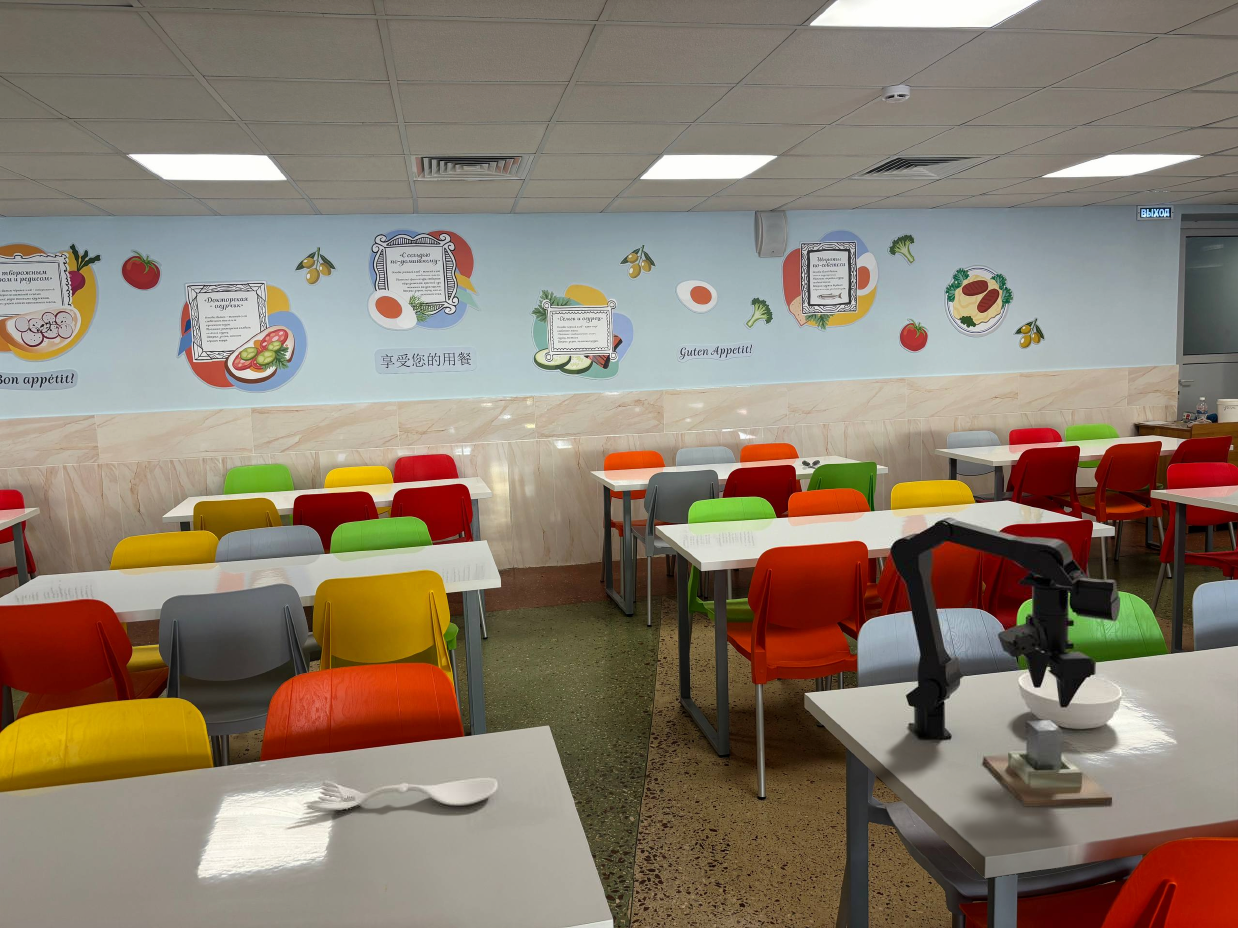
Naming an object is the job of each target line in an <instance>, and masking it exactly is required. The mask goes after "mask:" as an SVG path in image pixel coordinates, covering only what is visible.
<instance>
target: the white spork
mask: <svg viewBox="0 0 1238 928" xmlns="http://www.w3.org/2000/svg"><path fill="white" fill-rule="evenodd" d="M321 785H322V786H323V787H321V790H322V791H320V792H319V793H320V794H321V795H322V796H318V797H317V798H318V800H314V801H313V802H311V804H307V805H306V808H307V809H308V810H310V811H343V809H346V810H349V809H348V808H350V807H353V806H355V805H358V804H360V805H362V804H363V803H365V802H367V801H369V800H370V799H373V798H374V797H377V796H380V795H382V794H387V793H398V794H400V795H401V794H404V793H405V794H406V793H407V792H418V793H421V794H425V795H426V796H427V797H429V798H431V799H433V800H434V801H436V802H438V803H441V804H444V805H447V806H467V805H473V804H475V803H478V802H481V801H483V800H486V799H488V798H489V797H491V796H493V794H495V792H497V789H498V785H499V784H498V781H497V780H496V778H495V779H494V778H492V777H477V778H469V779H461V780H456V781H455V780H454V781H449V782H444V783H439V784H433V785H423V784H421V785H420V784H419V785H418V784H408V783H407V782H403V783H400V784H395V785H385V786H381V787H379V788H375V789H374V790H371V791H369V792H367V793H362V792H360V791H358V790H356V789H353V788H350V787H345V786H342V785H339V784H336V783H334V782H331V781H322V783H321ZM327 796H329V797H327ZM347 796H348V797H349V796H350V797H351V796H352V797H353V796H355V797H354V798H356V799H355V801H351V802H350V801H349V802H343V800H344V798H347ZM332 797H339V798H332ZM361 803H362V804H361ZM358 806H359V805H358ZM350 809H351V808H350Z"/></svg>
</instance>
